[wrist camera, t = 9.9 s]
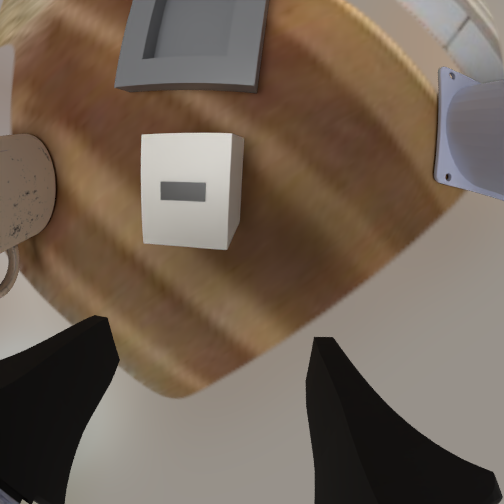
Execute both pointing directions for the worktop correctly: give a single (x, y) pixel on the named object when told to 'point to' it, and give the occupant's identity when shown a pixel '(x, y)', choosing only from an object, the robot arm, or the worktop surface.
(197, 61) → the grey divided tray
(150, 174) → the block
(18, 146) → the teacup with lid
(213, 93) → the worktop surface
